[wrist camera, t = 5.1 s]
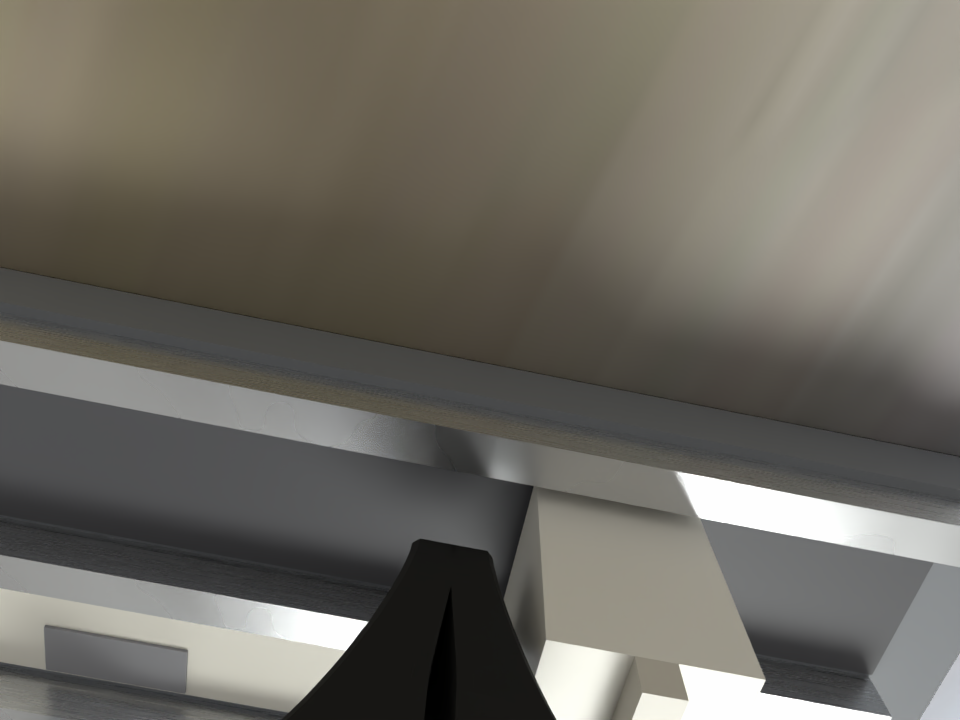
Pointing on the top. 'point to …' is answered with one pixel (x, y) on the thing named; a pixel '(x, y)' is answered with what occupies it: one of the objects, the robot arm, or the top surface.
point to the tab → (627, 614)
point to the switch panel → (402, 510)
